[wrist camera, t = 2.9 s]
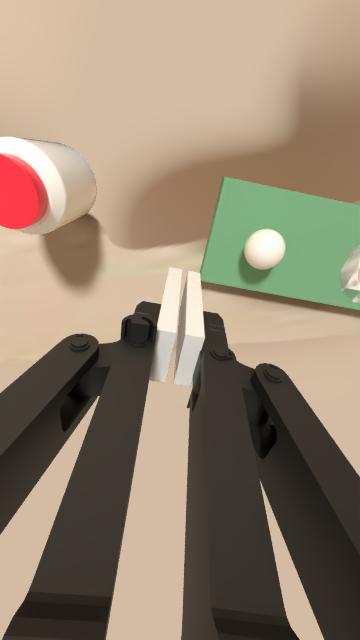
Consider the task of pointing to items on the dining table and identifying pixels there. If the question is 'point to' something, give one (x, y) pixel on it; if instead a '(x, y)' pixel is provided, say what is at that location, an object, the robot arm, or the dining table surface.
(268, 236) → the ball
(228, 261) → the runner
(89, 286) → the dining table surface
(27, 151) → the pill bottle
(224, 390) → the robot arm
